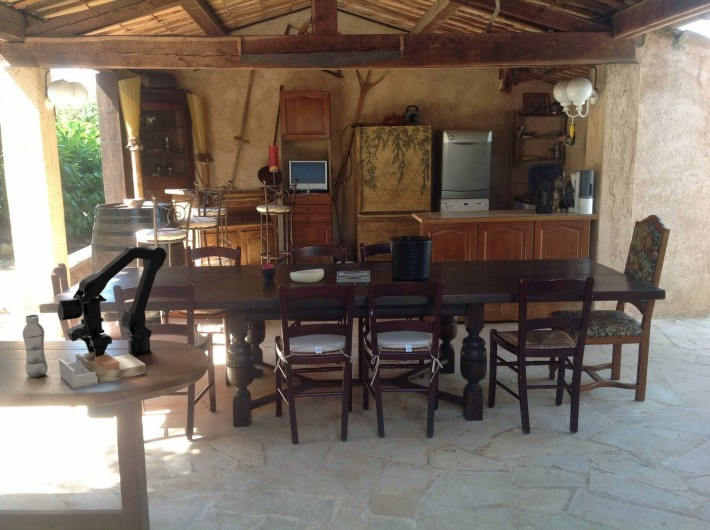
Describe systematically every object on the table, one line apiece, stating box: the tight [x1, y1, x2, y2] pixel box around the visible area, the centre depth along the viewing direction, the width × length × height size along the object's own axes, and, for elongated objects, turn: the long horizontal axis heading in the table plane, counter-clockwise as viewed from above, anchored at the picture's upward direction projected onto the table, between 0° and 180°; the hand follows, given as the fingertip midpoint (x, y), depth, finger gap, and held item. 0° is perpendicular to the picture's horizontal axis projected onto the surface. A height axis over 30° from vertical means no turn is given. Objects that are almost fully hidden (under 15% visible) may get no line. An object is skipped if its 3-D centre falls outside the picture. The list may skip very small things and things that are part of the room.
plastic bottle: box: [22, 314, 49, 378], centre depth 206 cm, size 6×7×20 cm
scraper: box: [75, 350, 108, 366], centre depth 220 cm, size 8×12×4 cm
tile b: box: [100, 359, 120, 371], centre depth 207 cm, size 4×4×2 cm
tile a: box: [94, 354, 114, 366], centre depth 211 cm, size 4×4×2 cm
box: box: [58, 358, 99, 390], centre depth 203 cm, size 7×14×6 cm, turn 40°
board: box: [84, 353, 147, 385], centre depth 211 cm, size 15×14×3 cm
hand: (95, 359), depth 221 cm, fingers open, 7 cm apart
